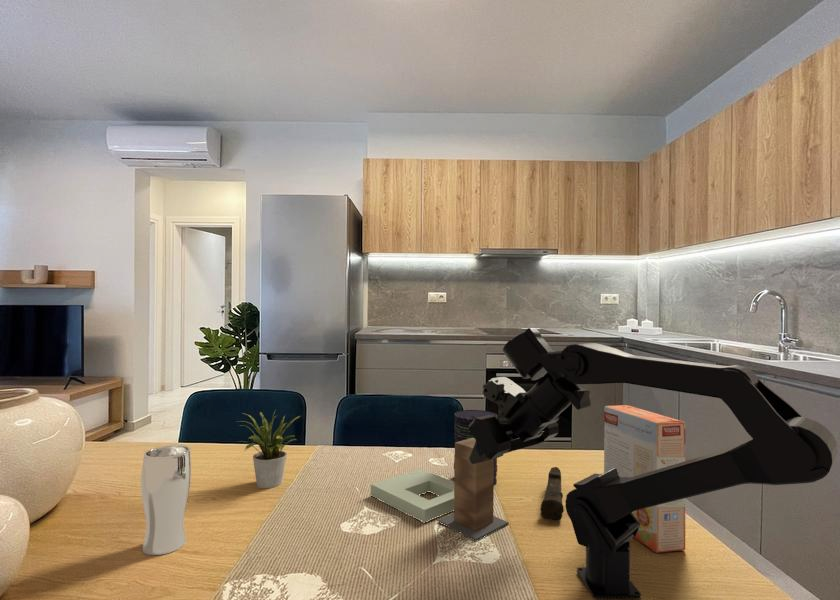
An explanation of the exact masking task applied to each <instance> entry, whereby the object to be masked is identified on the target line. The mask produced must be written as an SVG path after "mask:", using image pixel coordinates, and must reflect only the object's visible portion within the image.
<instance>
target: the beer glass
mask: <svg viewBox="0 0 840 600" xmlns="http://www.w3.org/2000/svg"><path fill="white" fill-rule="evenodd" d="M191 458H192V457H191V447H190V446H188V445H182V444H181V445H180V444H171V445H170V444H169V445H163V446H158V447H154V448H150V449H148V450H146V451H145V452H144V453H143V460H142V468H141V479H140V480H141V482H140V484H141V485H140V486H141V488H140V490H141V491H140V492H141V499H142V505H143V511H144V518H145V534H144V539H143V544H142V549H141V550H142V552H143V554H145V555H147V556H161V555H162V556H163V555H167V554H171V553H173V552H175V551H177V550H179V549H181V548H183V546H184V545H185V544H186V541H187V537H186V532H185V525H184V524H185V513H186V508H187V507H186V506H187V502H188V498H189V494H190V493H189V492H190V488H191V482H192V481H191V479H192V478H191V477H192V461H191Z"/></svg>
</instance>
